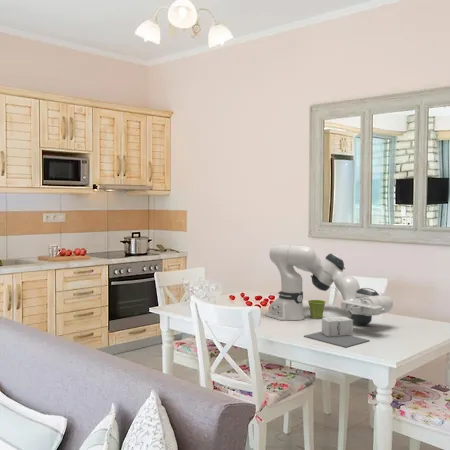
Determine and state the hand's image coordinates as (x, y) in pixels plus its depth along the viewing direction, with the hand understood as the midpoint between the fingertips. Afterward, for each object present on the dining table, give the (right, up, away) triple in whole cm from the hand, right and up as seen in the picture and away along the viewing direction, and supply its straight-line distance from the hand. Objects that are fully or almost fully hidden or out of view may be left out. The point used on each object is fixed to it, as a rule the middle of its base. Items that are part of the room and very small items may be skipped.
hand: (350, 309), depth 256 cm
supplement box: (0, -8, +2) cm, 8 cm away
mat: (-8, -13, -6) cm, 16 cm away
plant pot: (-10, -11, +38) cm, 41 cm away
